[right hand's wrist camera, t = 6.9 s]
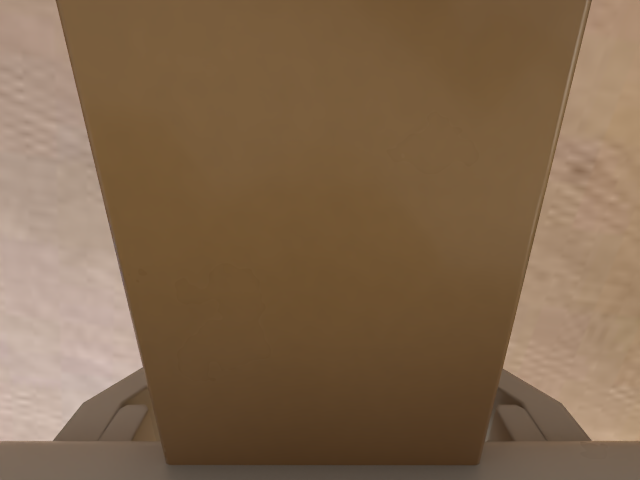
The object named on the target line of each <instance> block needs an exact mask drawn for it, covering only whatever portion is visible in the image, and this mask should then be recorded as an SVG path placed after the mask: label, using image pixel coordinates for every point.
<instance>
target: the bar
mask: <svg viewBox="0 0 640 480" xmlns="http://www.w3.org/2000/svg"><path fill="white" fill-rule="evenodd" d="M591 1H592V0H56V3H57V7H58V11H59V15H60V20H61V24H62V28H63V32H64V37H65V41H66V45H67V49H68V53H69V58H70V62H71V66H72V70H73V74H74V79H75V83H76V87H77V91H78V95H79V100H80V104H81V108H82V112H83V116H84V121H85V125H86V129H87V133H88V137H89V142H90V146H91V150H92V154H93V159H94V163H95V167H96V171H97V175H98V180H99V184H100V188H101V192H102V196H103V201H104V205H105V209H106V213H107V217H108V222H109V226H110V230H111V234H112V238H113V243H114V247H115V251H116V255H117V259H118V264H119V268H120V272H121V276H122V281H123V285H124V289H125V293H126V297H127V302H128V306H129V310H130V314H131V318H132V323H133V327H134V331H135V335H136V339H137V344H138V348H139V352H140V356H141V360H142V365H143V369H144V373H145V377H146V381H147V386H148V390H149V394H150V398H151V402H152V407H153V411H154V415H155V419H156V424H157V428H158V432H159V436H160V440H161V445H162V449H163V453H164V457H165V461H166V464H168V465H478V464H479V463H480V459H481V455H482V451H483V446H484V442H485V438H486V434H487V430H488V426H489V422H490V418H491V413H492V409H493V405H494V401H495V397H496V393H497V389H498V385H499V380H500V376H501V372H502V368H503V364H504V360H505V356H506V352H507V347H508V343H509V339H510V335H511V331H512V327H513V323H514V319H515V315H516V310H517V306H518V302H519V298H520V294H521V290H522V286H523V282H524V277H525V273H526V269H527V265H528V261H529V257H530V253H531V249H532V244H533V240H534V236H535V232H536V228H537V224H538V220H539V216H540V211H541V207H542V203H543V199H544V195H545V191H546V187H547V183H548V179H549V174H550V170H551V166H552V162H553V158H554V154H555V150H556V146H557V141H558V137H559V133H560V129H561V125H562V121H563V117H564V113H565V108H566V104H567V100H568V96H569V92H570V88H571V84H572V80H573V76H574V71H575V67H576V63H577V59H578V55H579V51H580V47H581V43H582V38H583V34H584V30H585V26H586V22H587V18H588V14H589V10H590V5H591Z"/></svg>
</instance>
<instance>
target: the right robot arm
mask: <svg viewBox="0 0 640 480" xmlns="http://www.w3.org/2000/svg"><path fill="white" fill-rule="evenodd" d="M0 480H640V441H591V439H590V438H589V437H588V436H587V434H586V433H585V432H584V431H583V429H582V428H581V427H580V426H579V424H578V423H577V422H576V421H575V419H574V418H573V417H572V416H571V414H570V413H569V412H568V411H567V409H566V408H565V407H564V406H563V405H562V403H560V402H558V401H556V400H555V399H553V398H551V397H550V396H548V395H546V394H545V393H543V392H541V391H540V390H538V389H536V388H535V387H533V386H531V385H529V384H528V383H526V382H524V381H523V380H521V379H519V378H518V377H516V376H514V375H513V374H511V373H509V372H508V371H506V370H504V369H503V368H502V372H501V376H500V380H499V385H498V389H497V393H496V397H495V401H494V405H493V409H492V413H491V418H490V422H489V426H488V430H487V434H486V438H485V442H484V446H483V451H482V455H481V459H480V463H479V464H478V465H168V464H166V461H165V457H164V453H163V449H162V445H161V440H160V436H159V432H158V428H157V424H156V419H155V415H154V411H153V407H152V402H151V398H150V394H149V390H148V386H147V381H146V377H145V373H144V369H143V368H141V369H139V370H138V371H136V372H134V373H133V374H131V375H129V376H128V377H126V378H124V379H123V380H121V381H119V382H118V383H116V384H114V385H113V386H111V387H109V388H108V389H106V390H104V391H103V392H101V393H99V394H97V395H96V396H94V397H92V398H91V399H89V400H87V401H86V402H84V403H83V404H82V405H81V406H80V408H79V409H78V410H77V411H76V413H75V414H74V415H73V416H72V418H71V419H70V420H69V421H68V423H67V424H66V425H65V426H64V428H63V429H62V430H61V431H60V433H59V434H58V435H57V436H56V438H55V439H54V440H53V441H0Z"/></svg>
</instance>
